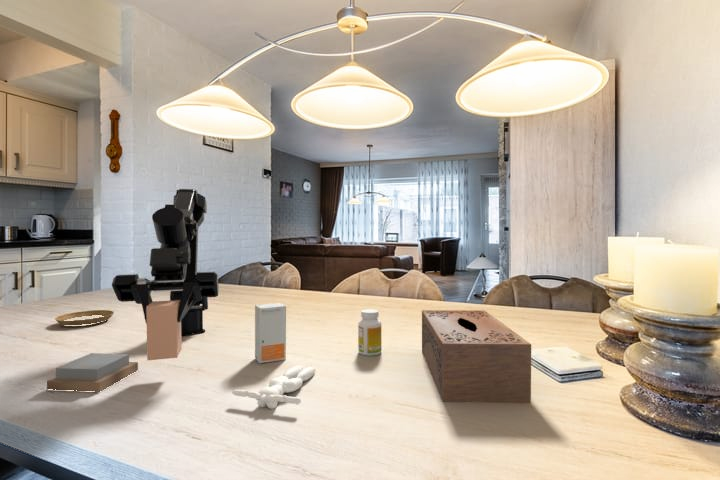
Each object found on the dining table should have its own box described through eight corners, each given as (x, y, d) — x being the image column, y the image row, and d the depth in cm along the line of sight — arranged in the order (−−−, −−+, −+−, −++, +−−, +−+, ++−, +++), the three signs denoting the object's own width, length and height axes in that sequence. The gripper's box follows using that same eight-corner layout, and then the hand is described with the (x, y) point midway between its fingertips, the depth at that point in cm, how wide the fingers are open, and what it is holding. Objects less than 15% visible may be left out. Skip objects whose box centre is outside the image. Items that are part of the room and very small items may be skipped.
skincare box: (259, 364, 79) (258, 308, 79) (254, 358, 83) (254, 304, 83) (287, 360, 82) (286, 305, 82) (281, 354, 86) (281, 302, 85)
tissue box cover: (421, 352, 88) (421, 310, 87) (484, 352, 87) (484, 310, 87) (442, 403, 62) (442, 343, 62) (530, 404, 61) (531, 344, 61)
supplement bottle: (384, 350, 88) (384, 309, 88) (376, 357, 83) (376, 314, 83) (364, 347, 91) (364, 307, 90) (354, 354, 86) (354, 312, 85)
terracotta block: (153, 351, 74) (152, 301, 73) (181, 349, 75) (180, 300, 75) (147, 360, 69) (146, 306, 69) (177, 357, 70) (176, 304, 70)
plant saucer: (41, 328, 109) (41, 319, 109) (86, 316, 124) (86, 309, 124) (85, 330, 107) (85, 321, 107) (125, 318, 122) (125, 310, 121)
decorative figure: (281, 361, 77) (228, 385, 60) (336, 366, 74) (296, 394, 57) (280, 378, 77) (226, 407, 60) (335, 384, 74) (295, 418, 56)
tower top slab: (91, 363, 75) (91, 353, 75) (129, 364, 74) (128, 354, 74) (55, 379, 67) (55, 368, 67) (97, 380, 66) (97, 369, 66)
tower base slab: (91, 372, 76) (91, 360, 76) (138, 374, 76) (137, 362, 76) (47, 394, 66) (46, 380, 66) (99, 396, 66) (99, 382, 66)
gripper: (113, 233, 72) (92, 300, 62) (216, 233, 78) (212, 294, 68) (127, 269, 80) (110, 334, 70) (219, 267, 86) (216, 327, 75)
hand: (163, 322), depth 70 cm, fingers closed on terracotta block, 5 cm apart
